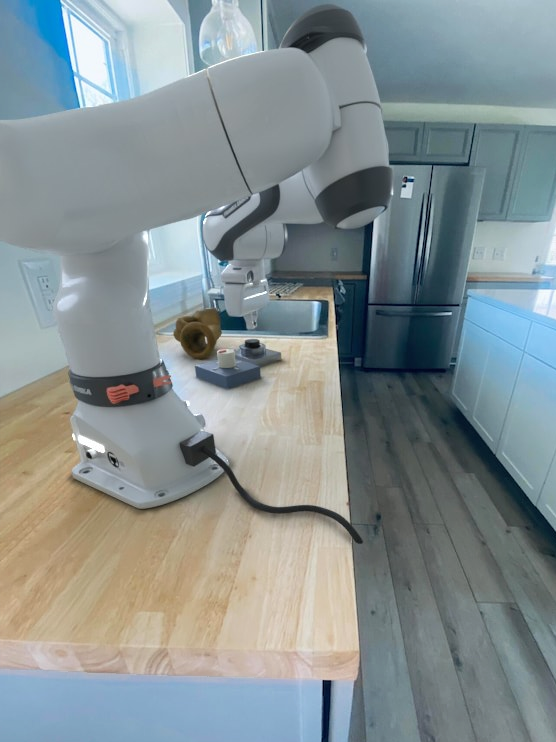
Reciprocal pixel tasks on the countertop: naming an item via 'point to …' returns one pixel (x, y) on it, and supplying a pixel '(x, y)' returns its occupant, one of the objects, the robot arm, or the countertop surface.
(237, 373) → the panel
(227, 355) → the knob
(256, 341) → the button
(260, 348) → the housing
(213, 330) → the brown looped sculpture
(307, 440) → the countertop surface
